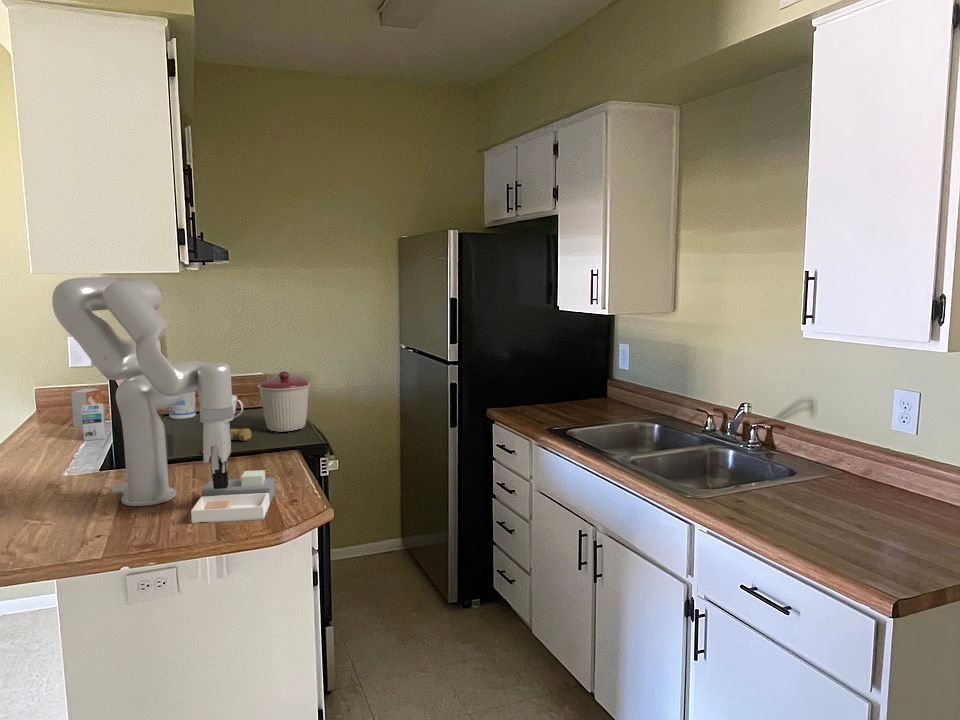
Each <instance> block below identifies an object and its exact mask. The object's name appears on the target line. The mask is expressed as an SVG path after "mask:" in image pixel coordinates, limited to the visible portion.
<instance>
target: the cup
mask: <svg viewBox="0 0 960 720" xmlns="http://www.w3.org/2000/svg"><path fill="white" fill-rule="evenodd" d="M237 403H239V404H240V411H239V413H238V414H237V415H235V414H236V410H237ZM232 404H233V405H232V406H233V419H234V418H237V417H239V416H241V414H242V413H243V411H244V406H243V402H242V401H241V400H240V399H238V395H234V394H232Z"/></svg>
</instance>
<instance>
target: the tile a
mask: <svg viewBox="0 0 960 720" xmlns="http://www.w3.org/2000/svg"><path fill="white" fill-rule="evenodd" d="M220 508H230V501H216V502H208V503H207V504H206V506H205V508H204V509H220Z"/></svg>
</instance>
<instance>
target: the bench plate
mask: <svg viewBox="0 0 960 720" xmlns="http://www.w3.org/2000/svg"><path fill="white" fill-rule="evenodd" d="M275 488H276V487H275V477H274V476H273V477H265V481H264V483H263V485H262V486H243V487H242V481H241V478H237V479H228V487H227V488H225V489H214V487H213V479H212V480H209V481H208V482H207V484H206V485H205V487H204V488H203V489H202V491H201V496H218V495H238V494H257V493H269V500H270V504H271V502H272V501H273V498H274V495H275V490H276V489H275Z"/></svg>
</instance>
